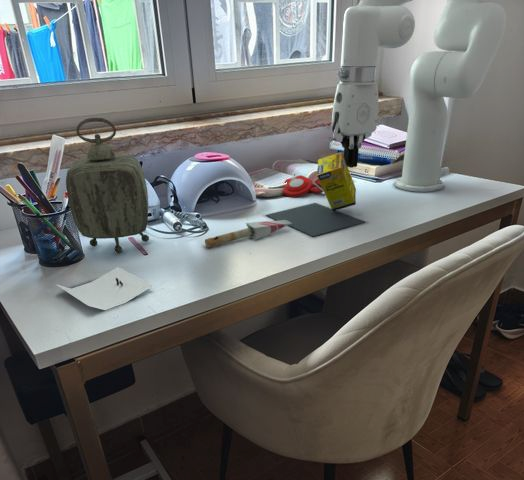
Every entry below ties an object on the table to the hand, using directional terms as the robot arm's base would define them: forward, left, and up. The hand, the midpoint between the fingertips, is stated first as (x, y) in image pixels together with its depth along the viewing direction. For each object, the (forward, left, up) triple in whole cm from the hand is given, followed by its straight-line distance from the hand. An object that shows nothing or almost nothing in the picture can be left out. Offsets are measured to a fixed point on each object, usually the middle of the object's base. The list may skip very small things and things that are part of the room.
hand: (349, 166), depth 116 cm
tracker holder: (0, -17, -10) cm, 20 cm away
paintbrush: (+29, +2, -10) cm, 31 cm away
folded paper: (+63, +9, -10) cm, 65 cm away
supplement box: (+1, 0, -8) cm, 8 cm away
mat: (+11, +1, -10) cm, 15 cm away
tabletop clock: (+54, -9, -10) cm, 56 cm away
